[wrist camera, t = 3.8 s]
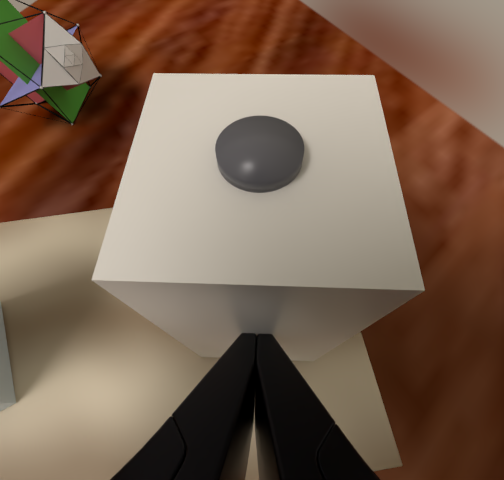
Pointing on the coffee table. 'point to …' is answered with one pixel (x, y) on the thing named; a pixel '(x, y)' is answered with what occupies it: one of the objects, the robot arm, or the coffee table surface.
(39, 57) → the geometric puzzle
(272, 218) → the white button box
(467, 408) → the coffee table surface
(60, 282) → the beige mat
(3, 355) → the tile two
